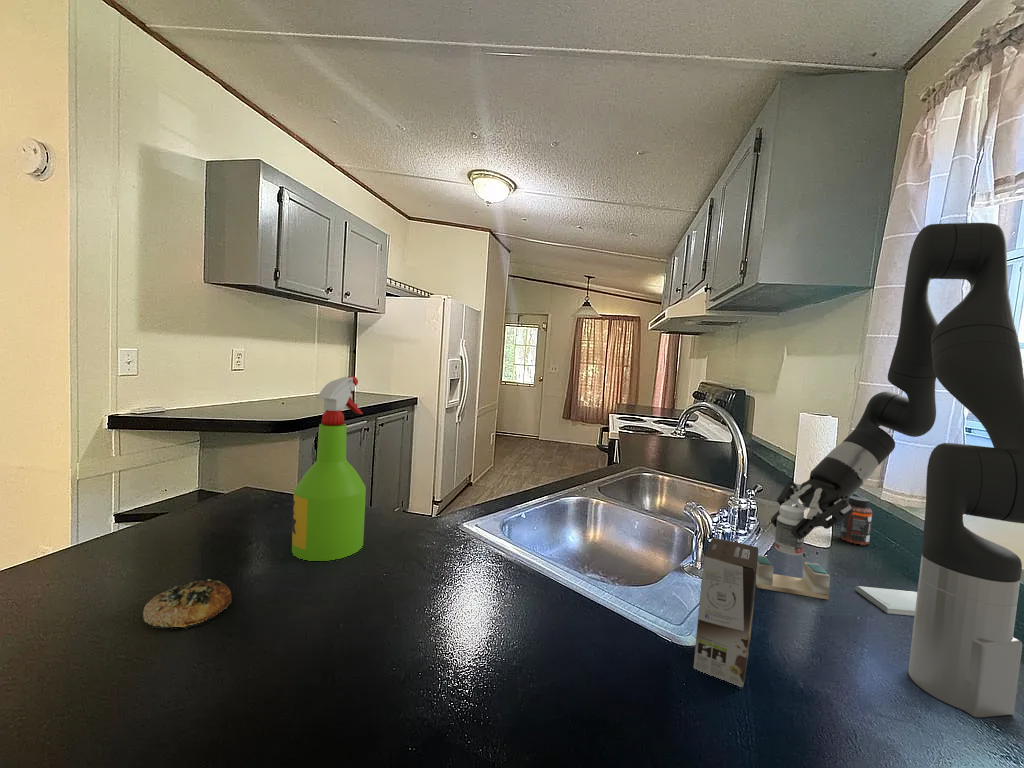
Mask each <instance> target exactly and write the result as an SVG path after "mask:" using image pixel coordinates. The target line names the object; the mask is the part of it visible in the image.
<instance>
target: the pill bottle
mask: <svg viewBox="0 0 1024 768" xmlns="http://www.w3.org/2000/svg"><path fill="white" fill-rule="evenodd" d="M794 506H795V505H794ZM794 506H793V505H791V506H788V505H782V506H780V505H779V510H778V511H779V512H780V514H781V515H779V516H778V517H777V523H776V527H775V537H774V538H775V540H774V548H775V550H777V551H778V552H780V553H784V554H786V555H789V556H801V555H802V554H803V552H804V543H805V542H804V541H805V537H804V538H802V539H801V540H799V539H797V538H796V537H795V536H794V535H793V534H792V529H793V528H794V527H795V526H796V525H797V524H798V523H799V522H800V521H801V520H802V519H803V518H805V515H804V514H805V513H804V512H805V510H802V509H800V508H798V507H794Z"/></svg>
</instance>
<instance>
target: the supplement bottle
mask: <svg viewBox="0 0 1024 768" xmlns="http://www.w3.org/2000/svg"><path fill="white" fill-rule="evenodd" d="M847 500H848V501H847V502H848V503H849V505H850V506H851V507H852V509H853V510H854V511H853V513H851V514H850V515H848V516H847V517H845V518H844V519H842V520H841V527H840V538H841V540H843V541H844V540H845V541H844V542H846V541H847V543H849V542H850V543H849V544H852V543H854V544H853V545H856V544H860V545H859V546H868V545H869V544H870V542H871V541H870V539H871V529H872V519H873V510H872V509H871V508H870V507H869V499H867V498H864V497H861V496H854V495H852V496H851V497H850V498H849V499H847ZM867 544H868V545H867Z"/></svg>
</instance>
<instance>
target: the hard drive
mask: <svg viewBox="0 0 1024 768" xmlns="http://www.w3.org/2000/svg"><path fill="white" fill-rule="evenodd" d="M855 592H856V593H859V594H860V595H861V596H862V597H864V598H866V599H867V600H868V601H869V602H870V603H872V604H874V605H875V606H877V607H878V608H879V609H881V610H882V611H883V612H884V613H886V614H890V615H892V614H893V615H901V616H902V615H903V616H910V617H911V616H912V617H915V608H916V599H917V591H912V590H911V591H909V590H899V589H893V588H891V589H890V588H880V587H870V586H860V585H859V586H858V585H856V586H855Z"/></svg>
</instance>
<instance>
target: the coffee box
mask: <svg viewBox="0 0 1024 768" xmlns="http://www.w3.org/2000/svg"><path fill="white" fill-rule="evenodd" d="M758 555H759V547H758V546H755V545H749V544H747V543H742V542H741V543H740V542H736V541H731V540H724V539H721V538H717V537H712V538H711V539H710V542H709V544H708V546H707V547H706V550H705V552H704V554H703V564H702V574H701V581H700V582H701V583H700V585H701V586H700V595H699V606H698V616H697V624H696V625H697V627H696V635H695V637H696V638H695V646H694V655H693V656H694V659H693V667H692V668H694V669H697V670H698V671H700V672H699V673H701V672H703V673H702V674H704V673H706V674H708V675H710V676H709V677H711V676H714V677H716V678H719V679H721V680H725V681H727V682H729V683H732V684H734V685H737V686H739V687H743V688H744V684H745V679H746V673H747V665H748V659H749V653H750V645H751V638H752V637H751V635H752V628H753V617H754V607H755V606H754V605H755V598H756V597H755V596H756V595H755V594H756V587H757V586H756V575H757V561H758ZM694 669H693V670H694ZM698 671H697V672H698ZM706 674H705V675H706ZM708 675H707V676H708ZM716 678H715V679H716ZM721 680H720V681H721Z"/></svg>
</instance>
